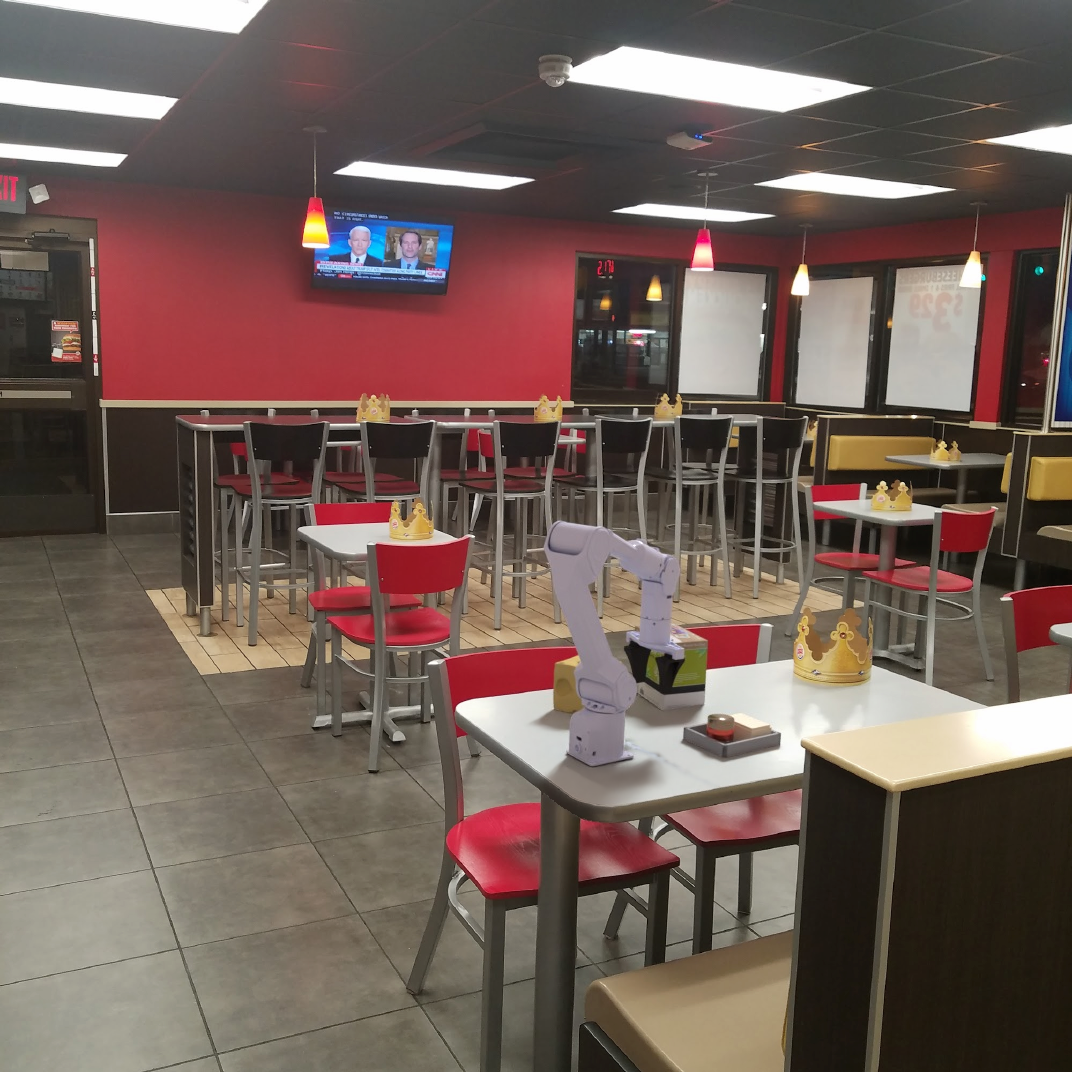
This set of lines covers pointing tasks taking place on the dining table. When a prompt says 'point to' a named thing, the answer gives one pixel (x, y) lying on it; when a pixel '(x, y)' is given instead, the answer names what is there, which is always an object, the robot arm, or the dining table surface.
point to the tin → (721, 728)
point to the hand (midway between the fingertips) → (652, 687)
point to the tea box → (688, 678)
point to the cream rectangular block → (749, 727)
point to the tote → (700, 738)
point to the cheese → (566, 686)
